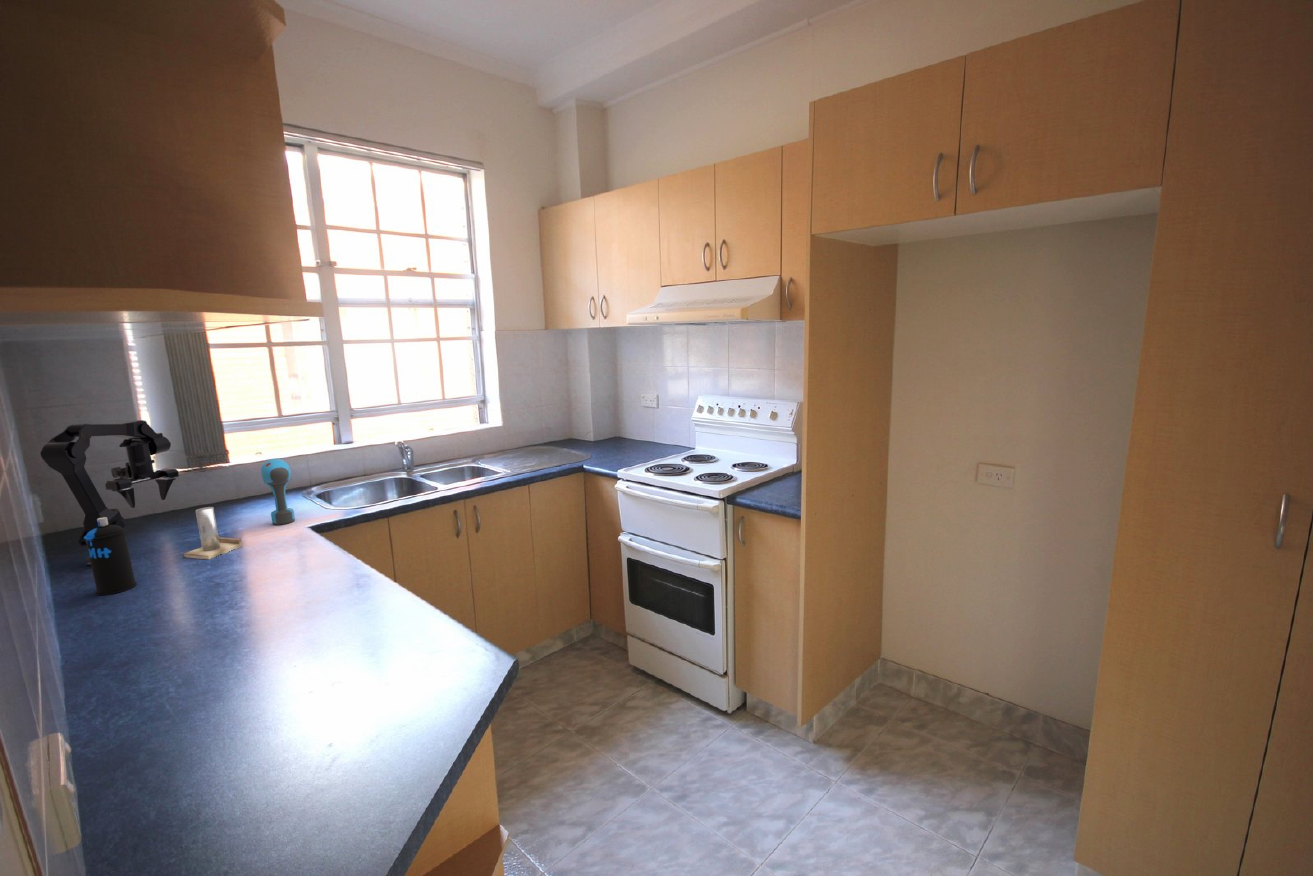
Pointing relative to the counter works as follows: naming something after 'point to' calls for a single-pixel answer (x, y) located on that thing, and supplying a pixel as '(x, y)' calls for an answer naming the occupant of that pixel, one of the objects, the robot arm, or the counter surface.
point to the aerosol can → (110, 558)
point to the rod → (207, 528)
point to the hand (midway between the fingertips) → (148, 503)
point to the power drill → (278, 489)
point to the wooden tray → (225, 547)
